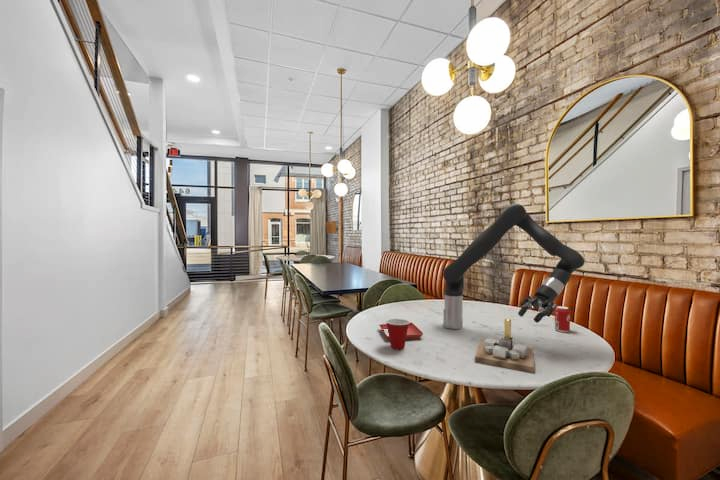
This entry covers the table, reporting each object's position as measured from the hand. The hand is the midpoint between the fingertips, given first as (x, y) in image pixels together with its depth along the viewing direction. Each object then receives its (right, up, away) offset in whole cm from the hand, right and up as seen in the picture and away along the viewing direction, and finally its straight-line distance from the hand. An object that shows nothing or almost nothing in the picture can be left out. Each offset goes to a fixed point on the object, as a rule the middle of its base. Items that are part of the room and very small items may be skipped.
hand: (527, 318), depth 127 cm
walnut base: (-13, -14, -7) cm, 20 cm away
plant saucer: (-51, -14, +21) cm, 57 cm away
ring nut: (-13, -12, -7) cm, 19 cm away
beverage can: (+31, -13, +24) cm, 41 cm away
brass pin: (-10, -12, -3) cm, 16 cm away
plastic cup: (-55, -14, +5) cm, 57 cm away
